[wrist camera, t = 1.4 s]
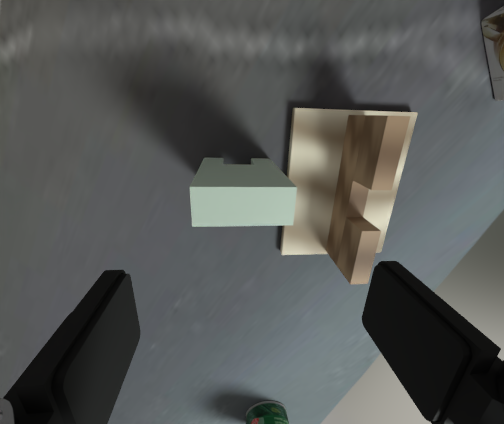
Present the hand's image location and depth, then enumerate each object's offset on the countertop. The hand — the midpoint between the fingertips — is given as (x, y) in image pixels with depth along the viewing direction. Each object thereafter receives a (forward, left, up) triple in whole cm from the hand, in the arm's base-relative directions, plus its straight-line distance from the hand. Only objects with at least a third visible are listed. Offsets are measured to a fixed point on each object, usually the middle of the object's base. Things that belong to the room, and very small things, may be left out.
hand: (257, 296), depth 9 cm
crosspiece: (0, 0, -21) cm, 21 cm away
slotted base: (+2, +13, -21) cm, 25 cm away
